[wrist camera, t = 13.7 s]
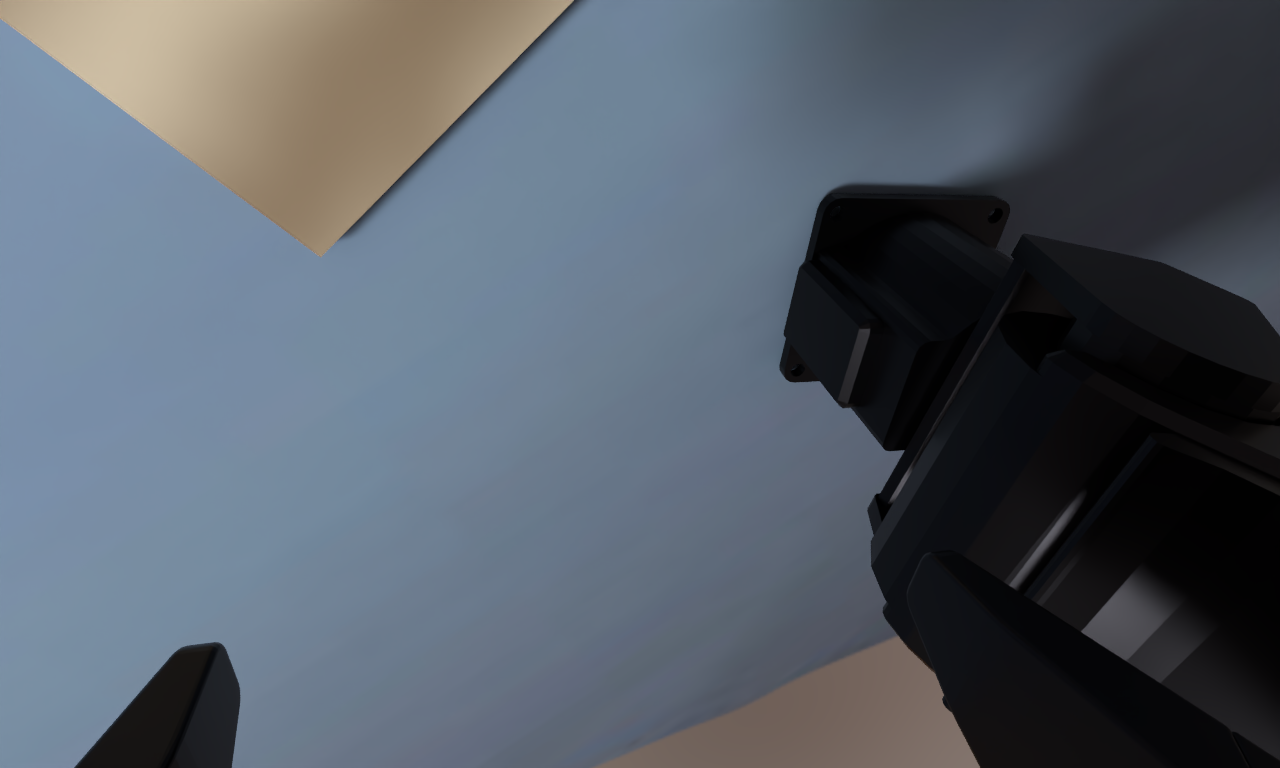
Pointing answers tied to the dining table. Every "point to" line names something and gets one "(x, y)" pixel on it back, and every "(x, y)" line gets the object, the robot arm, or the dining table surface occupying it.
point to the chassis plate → (291, 86)
